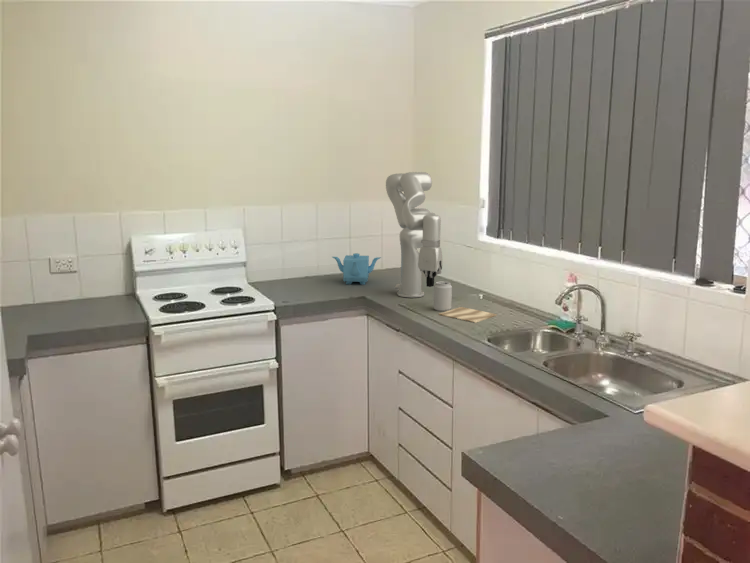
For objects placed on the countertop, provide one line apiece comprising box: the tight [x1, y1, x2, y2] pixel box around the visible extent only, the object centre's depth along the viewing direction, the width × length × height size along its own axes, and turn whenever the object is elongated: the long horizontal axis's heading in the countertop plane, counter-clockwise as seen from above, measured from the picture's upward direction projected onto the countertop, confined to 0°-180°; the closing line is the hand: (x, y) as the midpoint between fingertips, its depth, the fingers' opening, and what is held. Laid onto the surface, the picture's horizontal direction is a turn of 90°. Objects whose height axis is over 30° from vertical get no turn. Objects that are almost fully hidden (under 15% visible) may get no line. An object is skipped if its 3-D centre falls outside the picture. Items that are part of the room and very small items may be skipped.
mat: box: [438, 306, 498, 324], centre depth 278 cm, size 18×16×1 cm
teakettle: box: [332, 252, 382, 286], centre depth 338 cm, size 19×19×15 cm
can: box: [433, 280, 453, 312], centre depth 285 cm, size 8×8×12 cm
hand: (430, 286), depth 289 cm, fingers closed
